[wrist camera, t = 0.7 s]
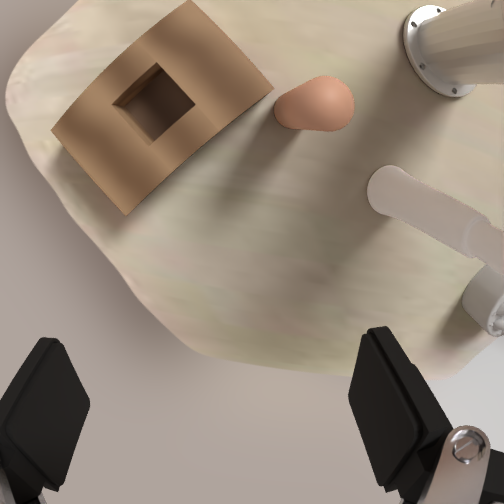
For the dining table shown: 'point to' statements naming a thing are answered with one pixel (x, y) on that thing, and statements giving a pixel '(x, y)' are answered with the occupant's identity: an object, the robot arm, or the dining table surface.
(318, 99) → the peg
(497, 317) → the lumpy-topped squat cylinder
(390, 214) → the cosmetic bottle
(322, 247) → the dining table surface
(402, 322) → the dining table surface
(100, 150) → the socket board
